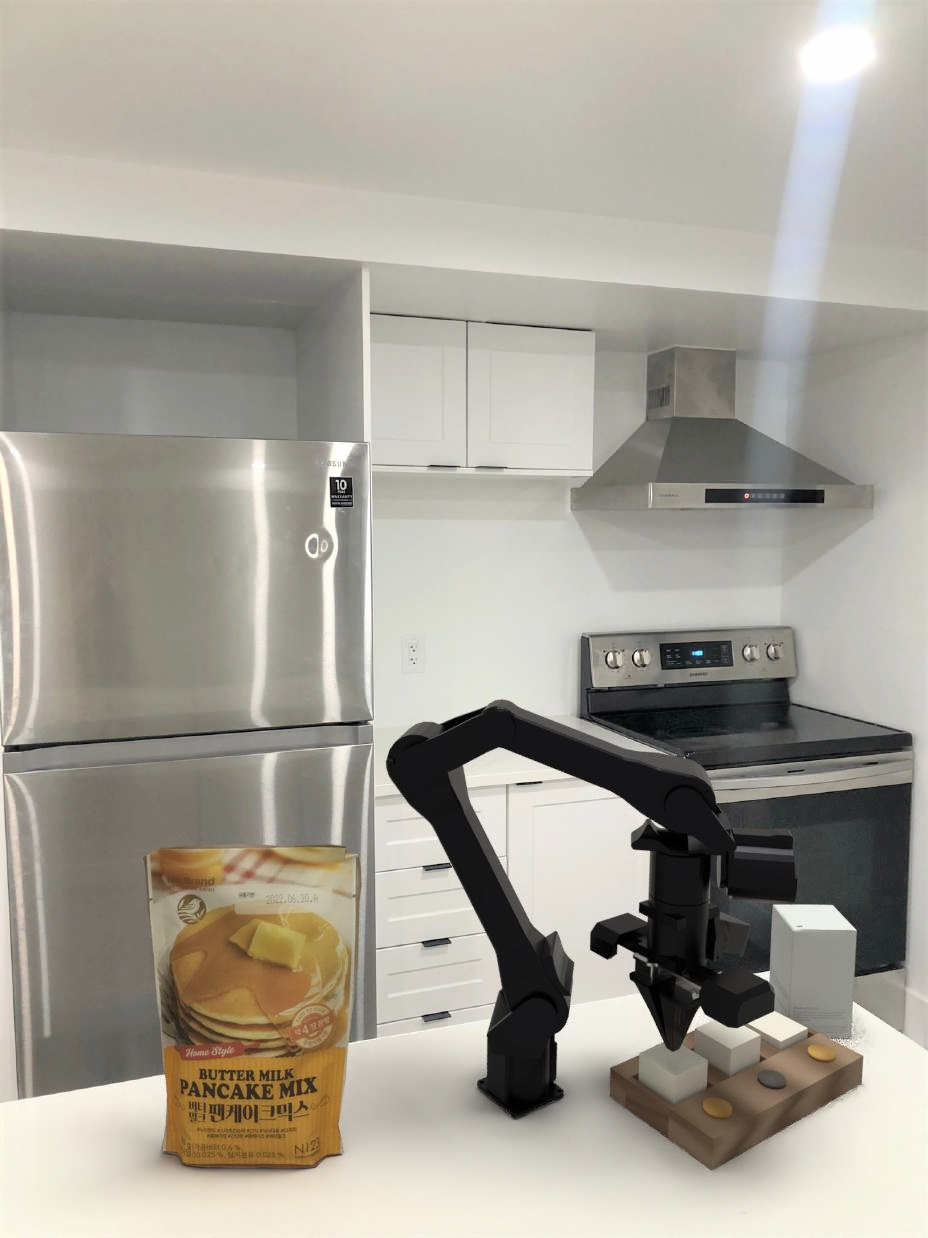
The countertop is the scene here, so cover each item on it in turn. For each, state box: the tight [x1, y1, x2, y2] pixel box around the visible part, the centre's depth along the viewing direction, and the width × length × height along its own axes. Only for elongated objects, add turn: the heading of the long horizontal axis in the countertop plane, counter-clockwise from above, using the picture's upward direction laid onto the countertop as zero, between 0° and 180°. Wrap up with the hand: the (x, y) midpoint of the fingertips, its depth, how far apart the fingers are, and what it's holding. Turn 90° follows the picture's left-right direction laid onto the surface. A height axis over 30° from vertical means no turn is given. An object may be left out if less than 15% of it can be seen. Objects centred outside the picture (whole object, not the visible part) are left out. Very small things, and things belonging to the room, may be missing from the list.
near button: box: [638, 1041, 708, 1106], centre depth 91 cm, size 5×5×3 cm
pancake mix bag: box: [142, 843, 363, 1169], centre depth 84 cm, size 7×19×28 cm, turn 90°
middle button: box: [694, 1019, 761, 1077], centre depth 96 cm, size 5×5×3 cm
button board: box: [609, 1010, 864, 1171], centre depth 95 cm, size 23×13×3 cm, turn 125°
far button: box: [745, 1011, 808, 1051], centre depth 101 cm, size 5×5×3 cm
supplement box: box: [768, 904, 858, 1039], centre depth 108 cm, size 7×7×13 cm
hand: (673, 1049), depth 91 cm, fingers closed
